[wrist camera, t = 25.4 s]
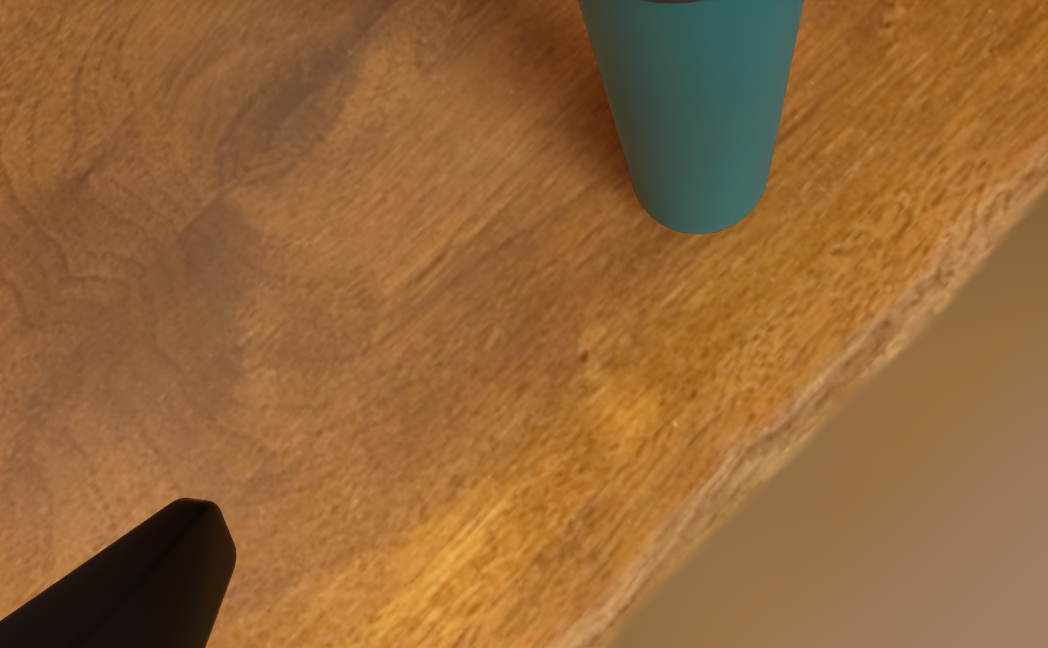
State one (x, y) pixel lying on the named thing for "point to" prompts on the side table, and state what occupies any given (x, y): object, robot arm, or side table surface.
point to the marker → (695, 100)
